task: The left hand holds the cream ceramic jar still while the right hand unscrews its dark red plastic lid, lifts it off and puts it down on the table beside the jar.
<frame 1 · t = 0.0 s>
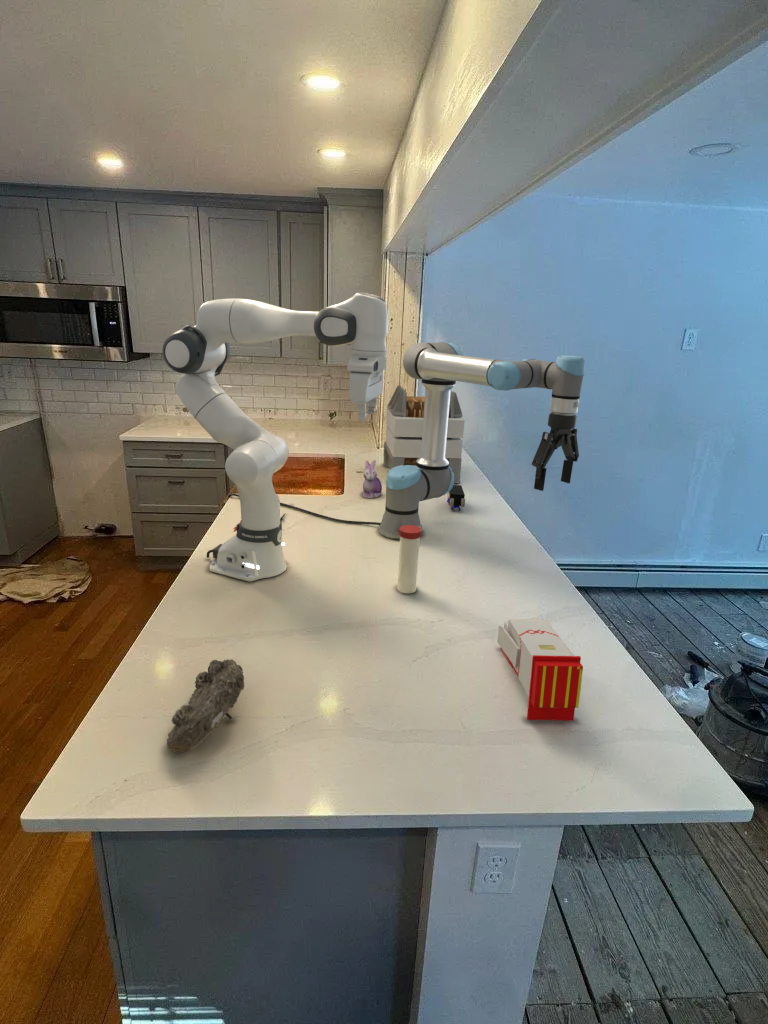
left hand: (366, 416, 147), 48 cm above the counter, tool pointing down, fingers open, 8 cm apart
right hand: (552, 485, 166), 28 cm above the counter, tool pointing down, fingers open, 13 cm apart
lid: (410, 530, 155), point 18 cm above the counter, screwed on, not yet turned
jar: (406, 589, 161), on the counter
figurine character: (454, 506, 230), on the counter
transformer: (419, 473, 275), on the counter
figurine: (371, 495, 239), on the counter
fossil: (212, 717, 108), on the counter
toy: (530, 678, 124), on the counter
feather: (283, 517, 211), on the counter
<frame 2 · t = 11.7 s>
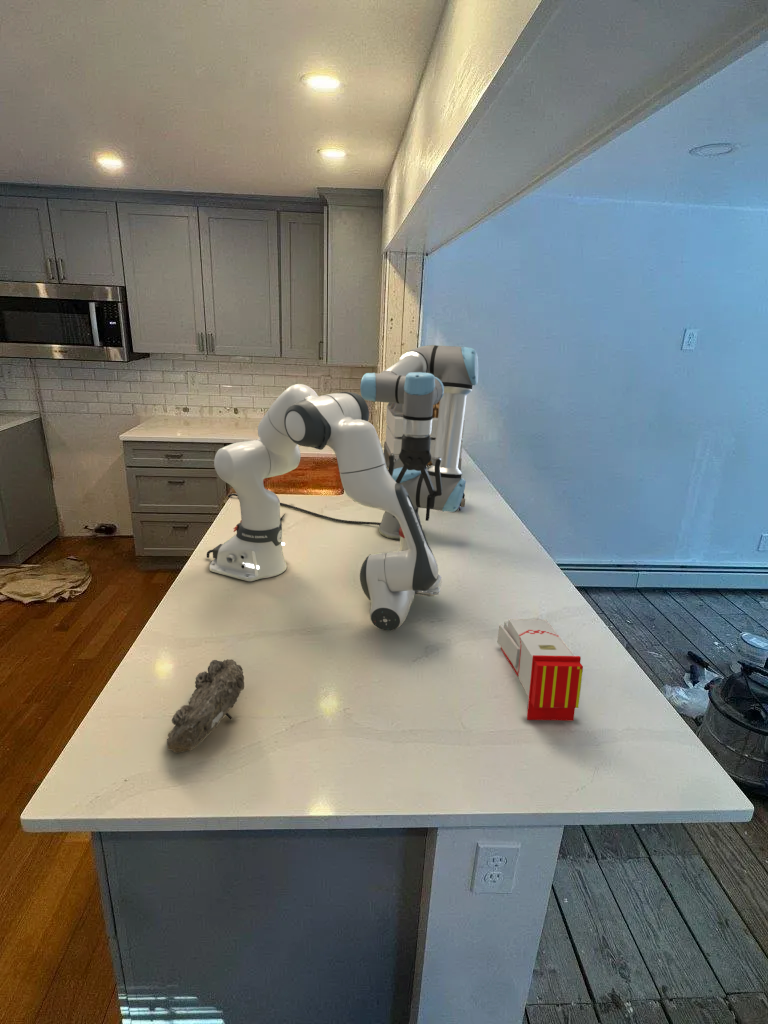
left hand: (408, 567, 160), 6 cm above the counter, tool horizontal, fingers closed on jar, 5 cm apart
right hand: (411, 517, 153), 22 cm above the counter, tool pointing down, fingers open, 8 cm apart
jar: (406, 589, 161), on the counter, touching left hand
everything else where it was.
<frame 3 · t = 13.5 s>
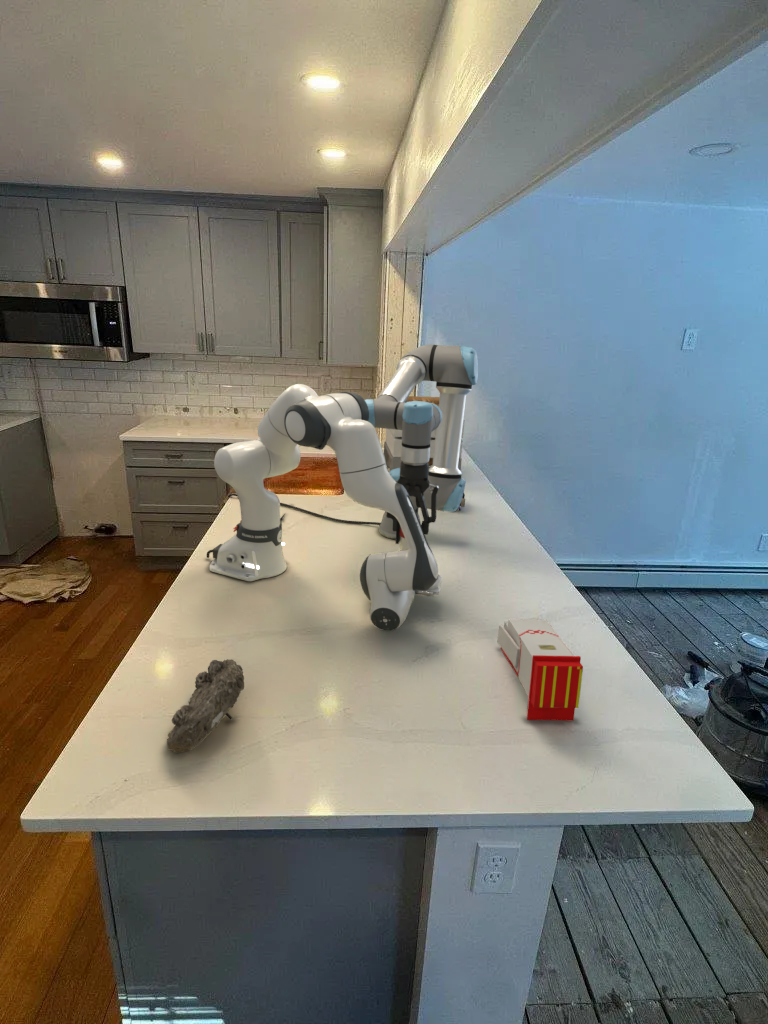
left hand: (408, 568, 160), 6 cm above the counter, tool horizontal, fingers closed on jar, 5 cm apart
right hand: (409, 543, 156), 14 cm above the counter, tool pointing down, fingers closed on lid, 6 cm apart
lid: (410, 530, 155), point 18 cm above the counter, screwed on, not yet turned, touching right hand
jar: (406, 589, 161), on the counter, touching left hand
everything else where it was.
when the right hand's fingers open (14 cm above the counter, at t = 15.0 s): lid stays where it is, point 18 cm above the counter.
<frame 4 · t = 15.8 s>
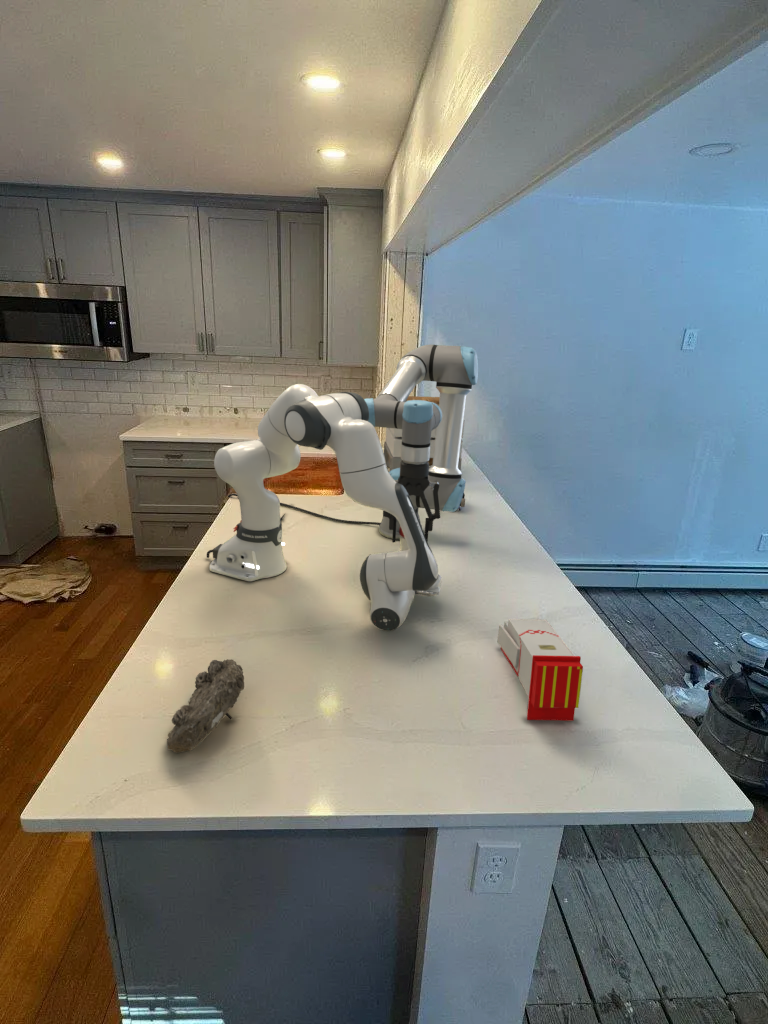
left hand: (408, 568, 160), 6 cm above the counter, tool horizontal, fingers closed on jar, 5 cm apart
right hand: (409, 540, 156), 15 cm above the counter, tool pointing down, fingers open, 8 cm apart
lid: (410, 529, 155), point 18 cm above the counter, turned 108° so far, risen 0.3 cm, still on its thread
jar: (406, 589, 161), on the counter, touching left hand
everything else where it was.
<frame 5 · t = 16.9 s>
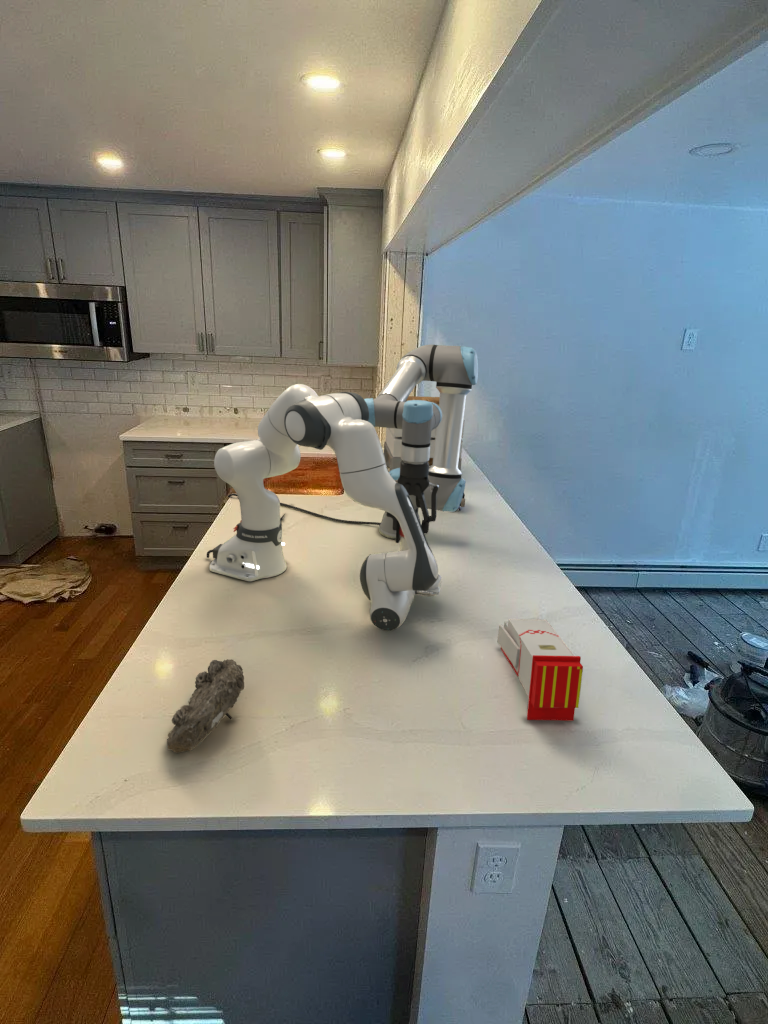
left hand: (408, 568, 160), 6 cm above the counter, tool horizontal, fingers closed on jar, 5 cm apart
right hand: (409, 542, 156), 14 cm above the counter, tool pointing down, fingers closed on lid, 6 cm apart
lid: (410, 529, 155), point 18 cm above the counter, turned 108° so far, risen 0.3 cm, still on its thread, touching right hand
jar: (406, 589, 161), on the counter, touching left hand
everything else where it was.
when the right hand's fingers open (0 cm above the counter, at t = 24.8 s): lid drops 3 cm, point 1 cm above the counter.
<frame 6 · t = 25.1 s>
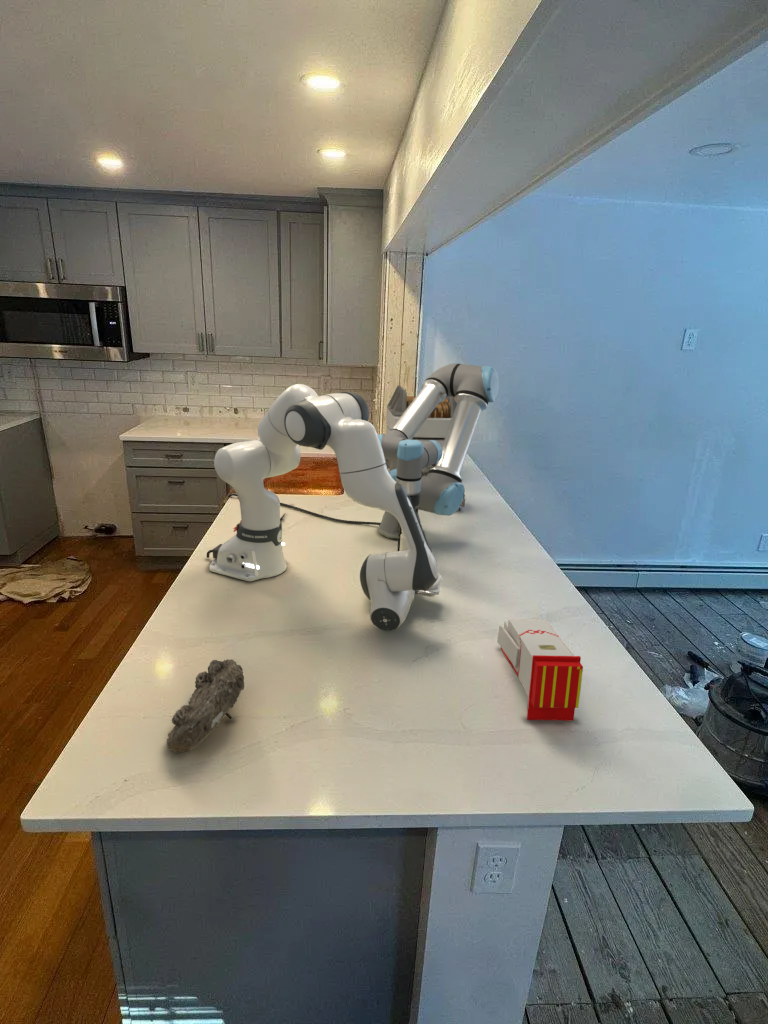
left hand: (408, 568, 160), 6 cm above the counter, tool horizontal, fingers closed on jar, 5 cm apart
right hand: (403, 561, 178), 0 cm above the counter, tool pointing down, fingers open, 6 cm apart
lid: (403, 557, 178), point 1 cm above the counter, off its thread
jar: (406, 589, 161), on the counter, touching left hand
everything else where it was.
when the left hand's fingers open (6 cm above the counter, at t = 26.1 s): jar stays where it is, on the counter.
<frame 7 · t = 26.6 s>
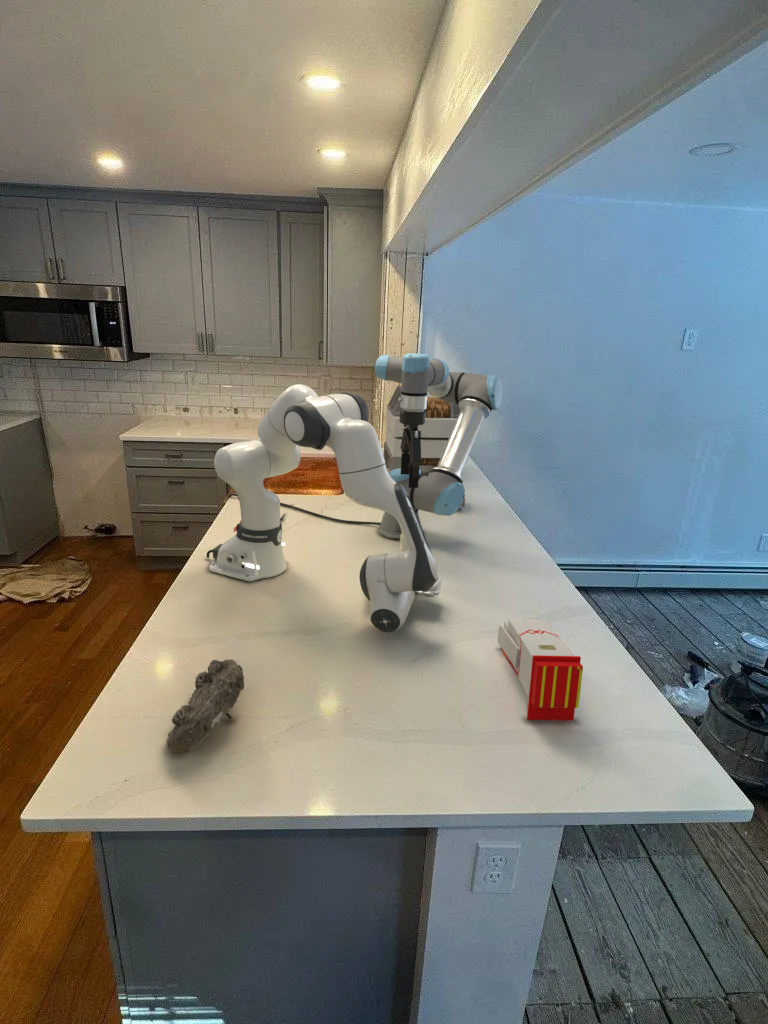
left hand: (408, 568, 159), 6 cm above the counter, tool horizontal, fingers open, 8 cm apart
right hand: (408, 480, 170), 26 cm above the counter, tool pointing down, fingers open, 13 cm apart
jar: (406, 589, 161), on the counter
everything else where it was.
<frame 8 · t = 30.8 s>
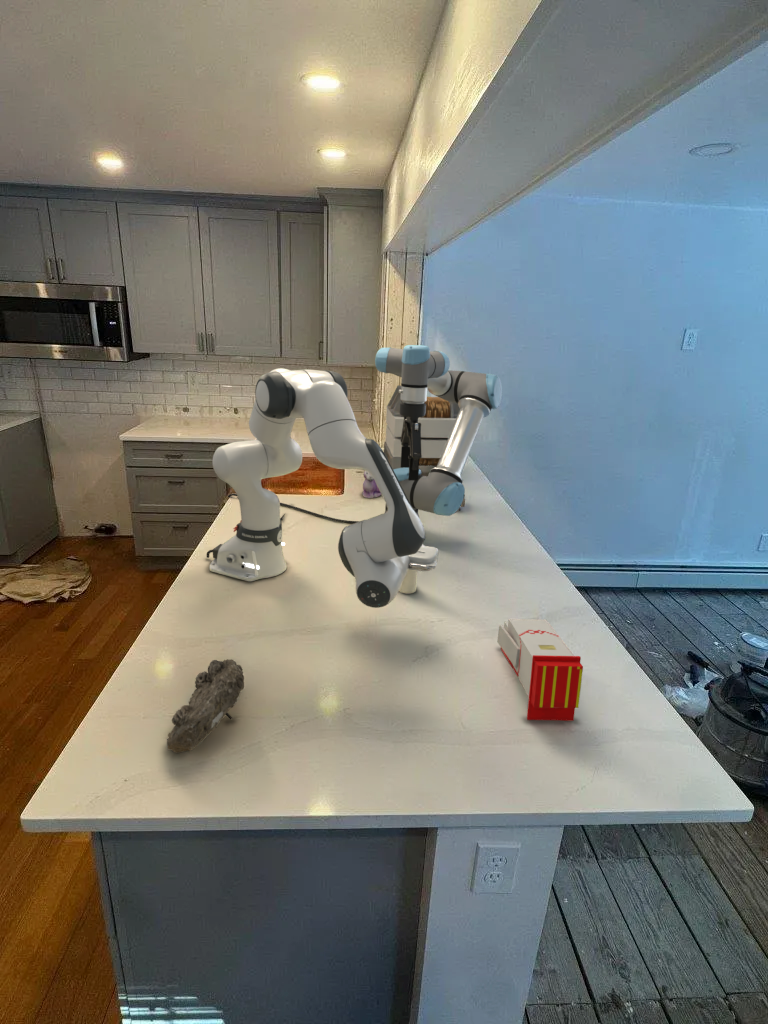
left hand: (401, 541, 143), 20 cm above the counter, tool horizontal, fingers open, 8 cm apart
right hand: (408, 473, 169), 29 cm above the counter, tool pointing down, fingers open, 13 cm apart
nothing on the counter moved.
at the end: lid came off its thread; lid point 1.4 cm above the counter; the left hand is holding nothing; the right hand is holding nothing; jar tilted 0°; jar moved 0.0 cm from its start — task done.
